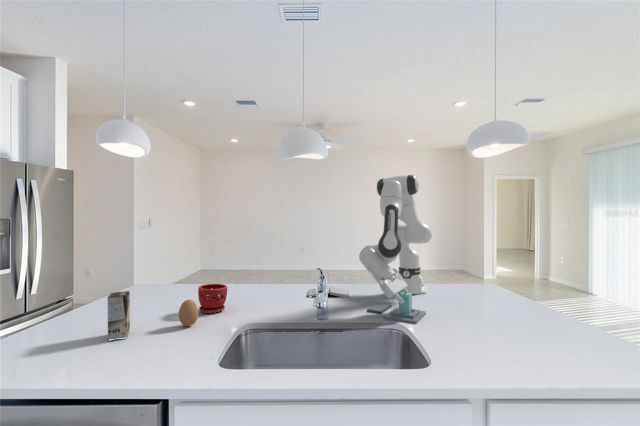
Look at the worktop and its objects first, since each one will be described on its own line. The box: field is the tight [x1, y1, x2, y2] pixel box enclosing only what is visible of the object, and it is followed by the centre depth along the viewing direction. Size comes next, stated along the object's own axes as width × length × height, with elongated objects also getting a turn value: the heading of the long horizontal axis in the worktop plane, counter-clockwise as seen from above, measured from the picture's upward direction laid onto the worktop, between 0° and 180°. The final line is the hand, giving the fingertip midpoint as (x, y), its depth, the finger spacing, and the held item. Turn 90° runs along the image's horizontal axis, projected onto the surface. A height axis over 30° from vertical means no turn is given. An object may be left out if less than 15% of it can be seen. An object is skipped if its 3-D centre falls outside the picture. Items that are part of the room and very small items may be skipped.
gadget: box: [307, 285, 350, 298], centre depth 195 cm, size 23×15×4 cm, turn 89°
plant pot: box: [197, 283, 228, 314], centre depth 163 cm, size 13×13×12 cm
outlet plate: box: [383, 306, 427, 325], centre depth 153 cm, size 16×14×2 cm
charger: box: [398, 292, 413, 314], centre depth 153 cm, size 4×4×9 cm
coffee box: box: [107, 290, 131, 340], centre depth 130 cm, size 9×6×16 cm
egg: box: [178, 299, 199, 327], centre depth 142 cm, size 8×8×11 cm
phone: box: [366, 302, 393, 315], centre depth 165 cm, size 7×14×1 cm, turn 149°
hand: (406, 300), depth 153 cm, fingers open, 8 cm apart
